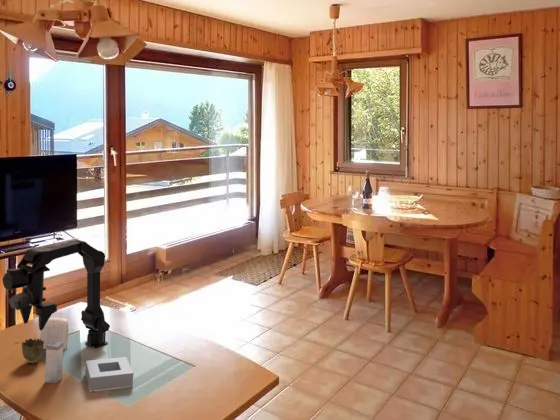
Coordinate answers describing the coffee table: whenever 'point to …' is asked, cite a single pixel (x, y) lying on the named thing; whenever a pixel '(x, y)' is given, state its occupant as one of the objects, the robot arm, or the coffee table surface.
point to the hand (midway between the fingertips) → (33, 326)
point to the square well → (108, 374)
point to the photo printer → (55, 332)
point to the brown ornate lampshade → (32, 350)
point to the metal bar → (54, 362)
